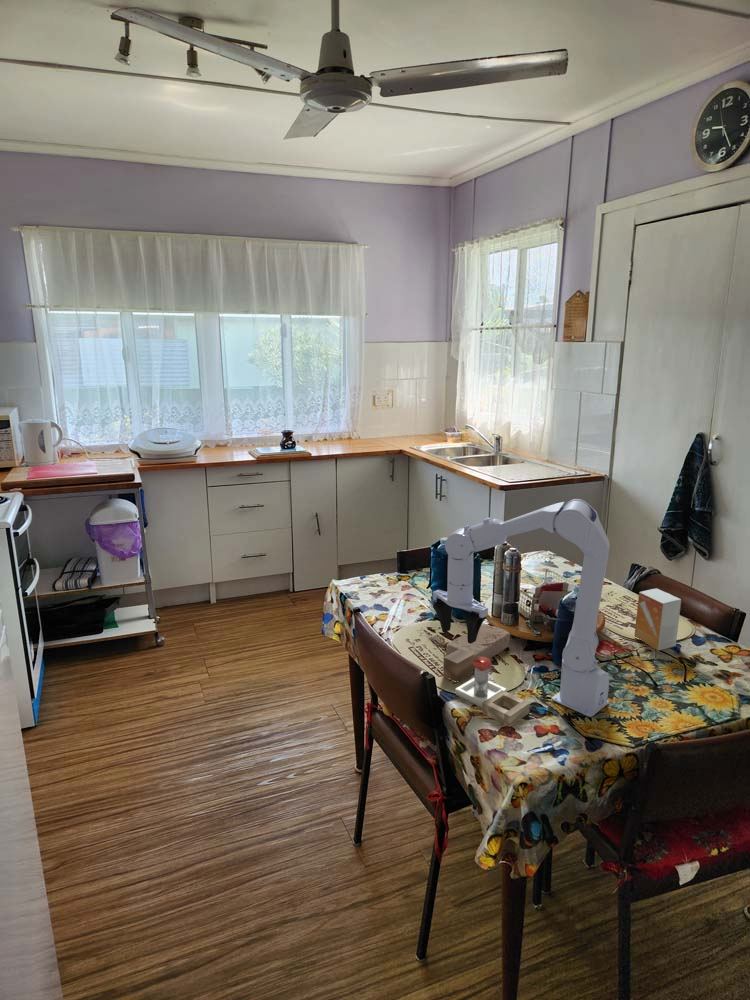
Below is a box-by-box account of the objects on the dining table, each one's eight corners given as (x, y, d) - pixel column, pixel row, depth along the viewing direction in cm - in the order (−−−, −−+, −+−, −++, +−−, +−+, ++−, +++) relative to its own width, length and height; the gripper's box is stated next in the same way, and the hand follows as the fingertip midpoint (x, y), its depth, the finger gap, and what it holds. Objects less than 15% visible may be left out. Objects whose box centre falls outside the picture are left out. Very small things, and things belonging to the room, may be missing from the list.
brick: (471, 672, 152) (472, 654, 151) (443, 660, 158) (444, 642, 157) (510, 648, 164) (511, 631, 163) (483, 638, 170) (483, 621, 168)
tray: (506, 694, 142) (506, 688, 142) (484, 709, 137) (484, 702, 136) (477, 681, 148) (477, 675, 147) (455, 694, 142) (455, 688, 142)
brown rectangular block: (472, 673, 151) (473, 654, 150) (456, 683, 147) (457, 663, 146) (459, 667, 154) (460, 648, 153) (443, 676, 150) (443, 657, 149)
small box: (633, 637, 168) (638, 591, 165) (651, 633, 170) (656, 587, 167) (657, 651, 161) (663, 603, 157) (676, 646, 163) (682, 598, 160)
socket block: (529, 713, 135) (529, 702, 135) (509, 727, 130) (510, 716, 130) (501, 700, 140) (502, 689, 139) (482, 712, 135) (482, 702, 135)
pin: (493, 696, 141) (495, 663, 139) (478, 700, 139) (479, 667, 137) (483, 687, 144) (484, 655, 142) (468, 691, 143) (469, 659, 141)
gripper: (497, 585, 142) (495, 641, 146) (447, 568, 152) (446, 621, 156) (477, 594, 138) (475, 651, 141) (427, 576, 148) (426, 630, 151)
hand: (458, 636), depth 148 cm, fingers open, 7 cm apart
